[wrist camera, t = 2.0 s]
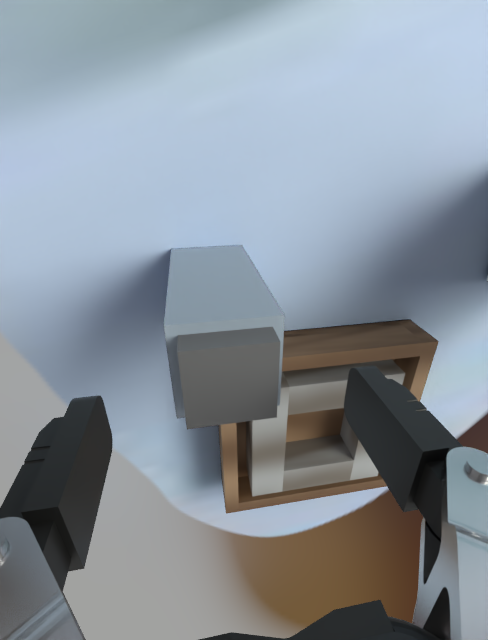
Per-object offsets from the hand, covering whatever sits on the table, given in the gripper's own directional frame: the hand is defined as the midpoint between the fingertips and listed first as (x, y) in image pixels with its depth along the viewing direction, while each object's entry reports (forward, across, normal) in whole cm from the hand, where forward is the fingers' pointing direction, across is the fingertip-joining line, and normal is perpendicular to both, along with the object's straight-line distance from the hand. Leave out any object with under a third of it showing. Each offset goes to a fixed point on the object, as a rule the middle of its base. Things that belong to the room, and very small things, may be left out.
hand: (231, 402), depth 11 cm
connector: (+10, 0, -1) cm, 10 cm away
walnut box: (+10, -7, +10) cm, 16 cm away
